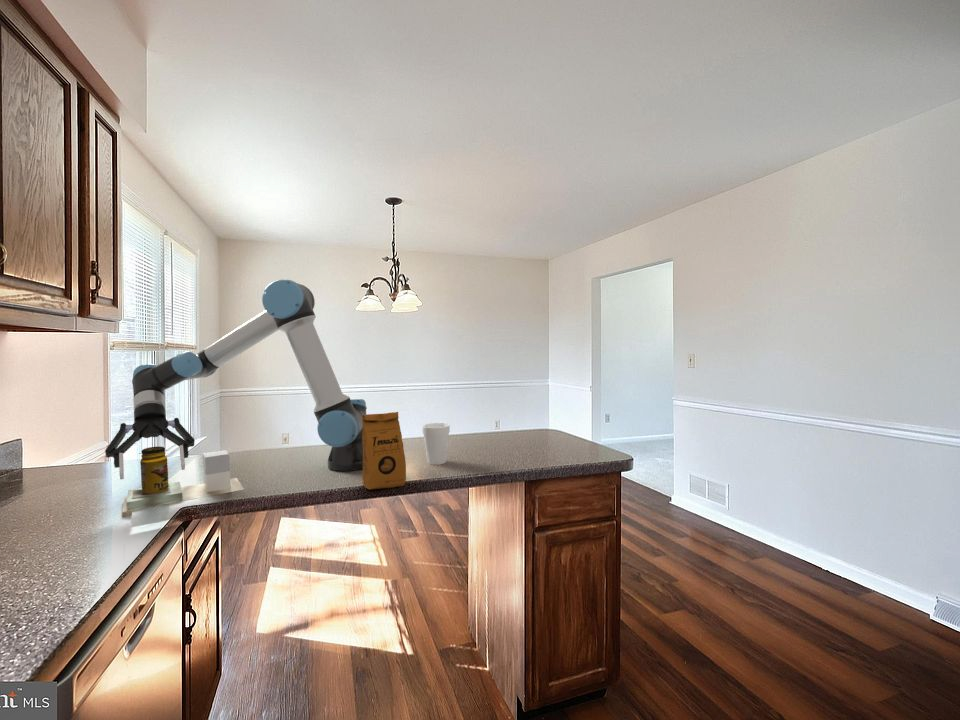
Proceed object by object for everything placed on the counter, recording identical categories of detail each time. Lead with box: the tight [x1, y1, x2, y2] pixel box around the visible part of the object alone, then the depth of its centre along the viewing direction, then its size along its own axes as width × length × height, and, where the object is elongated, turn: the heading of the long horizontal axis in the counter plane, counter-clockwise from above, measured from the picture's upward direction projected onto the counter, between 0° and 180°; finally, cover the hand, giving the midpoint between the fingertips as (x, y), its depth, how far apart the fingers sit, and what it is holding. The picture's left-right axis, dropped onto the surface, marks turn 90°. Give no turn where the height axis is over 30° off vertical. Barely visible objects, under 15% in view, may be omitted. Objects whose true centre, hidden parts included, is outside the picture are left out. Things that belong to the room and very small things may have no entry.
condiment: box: [132, 445, 170, 498], centre depth 127 cm, size 7×8×12 cm
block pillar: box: [202, 449, 231, 492], centre depth 137 cm, size 6×6×10 cm
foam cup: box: [422, 422, 451, 466], centre depth 164 cm, size 10×9×13 cm
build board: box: [121, 477, 245, 518], centre depth 132 cm, size 28×14×3 cm, turn 126°
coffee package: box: [362, 411, 407, 490], centre depth 139 cm, size 10×12×22 cm
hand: (153, 471), depth 126 cm, fingers open, 13 cm apart
